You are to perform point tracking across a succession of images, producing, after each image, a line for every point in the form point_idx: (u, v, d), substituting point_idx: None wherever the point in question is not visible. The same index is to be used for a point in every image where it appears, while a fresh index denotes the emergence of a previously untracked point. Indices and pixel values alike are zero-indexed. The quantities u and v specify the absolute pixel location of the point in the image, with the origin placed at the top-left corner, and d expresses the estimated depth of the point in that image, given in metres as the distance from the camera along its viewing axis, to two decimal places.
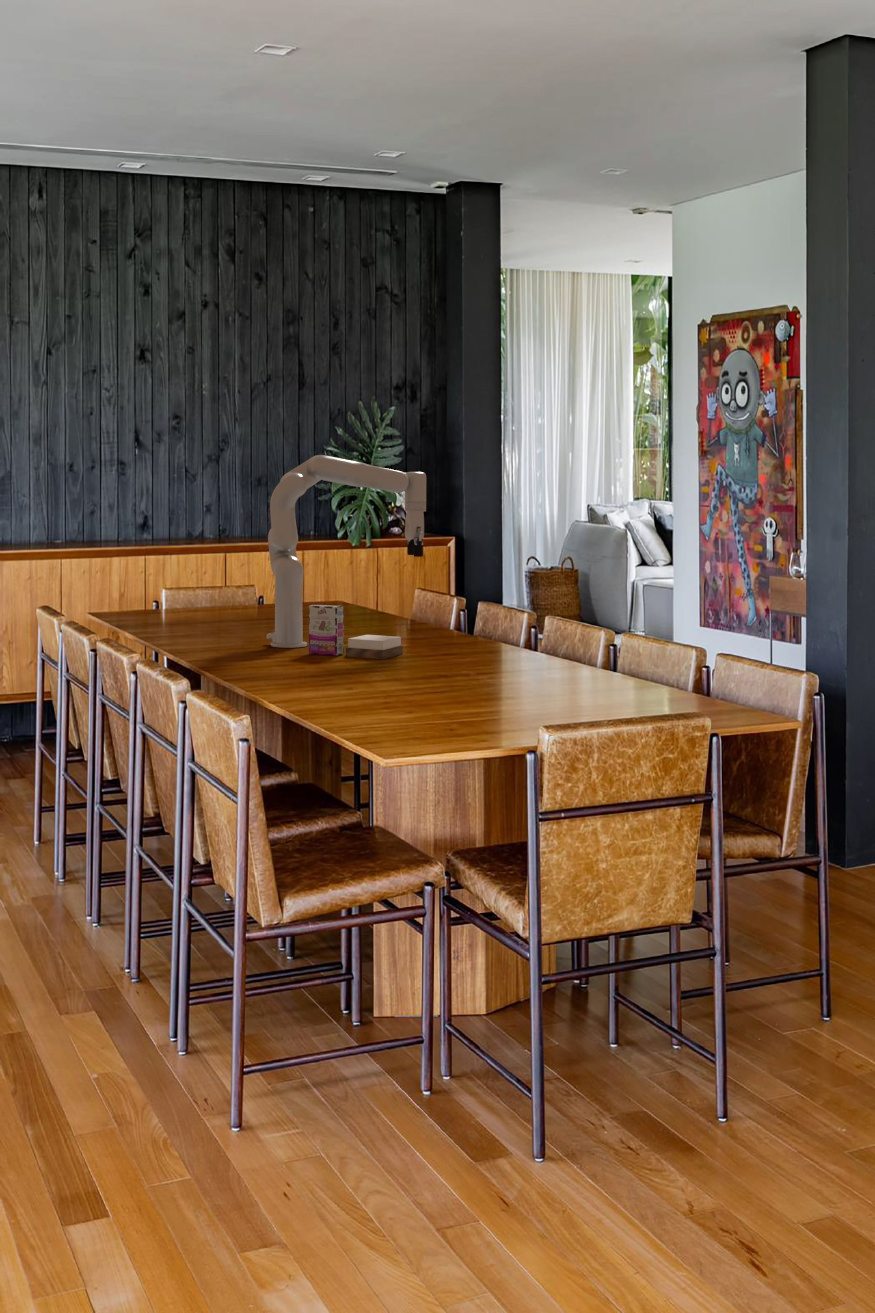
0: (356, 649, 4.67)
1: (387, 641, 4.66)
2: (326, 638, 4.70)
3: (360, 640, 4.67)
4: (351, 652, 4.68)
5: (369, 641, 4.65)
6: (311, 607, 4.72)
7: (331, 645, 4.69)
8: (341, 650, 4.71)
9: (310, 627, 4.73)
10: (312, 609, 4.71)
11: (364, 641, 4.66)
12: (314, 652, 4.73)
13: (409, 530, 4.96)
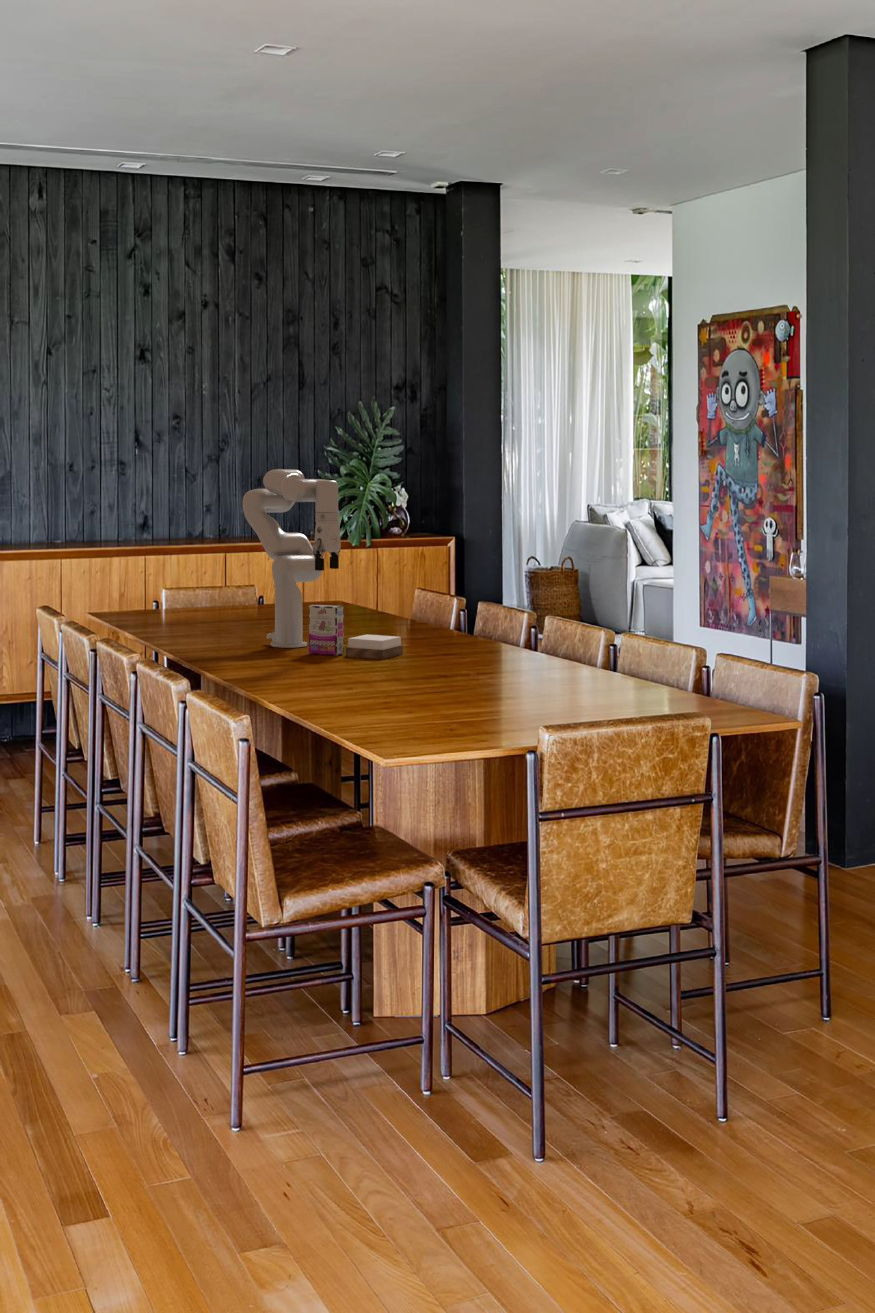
0: (356, 649, 4.67)
1: (386, 641, 4.66)
2: (326, 638, 4.70)
3: (360, 640, 4.67)
4: (351, 652, 4.68)
5: (369, 641, 4.65)
6: (311, 607, 4.72)
7: (331, 645, 4.69)
8: (341, 650, 4.71)
9: (310, 627, 4.73)
10: (312, 609, 4.71)
11: (364, 641, 4.66)
12: (314, 652, 4.73)
13: (338, 542, 4.70)
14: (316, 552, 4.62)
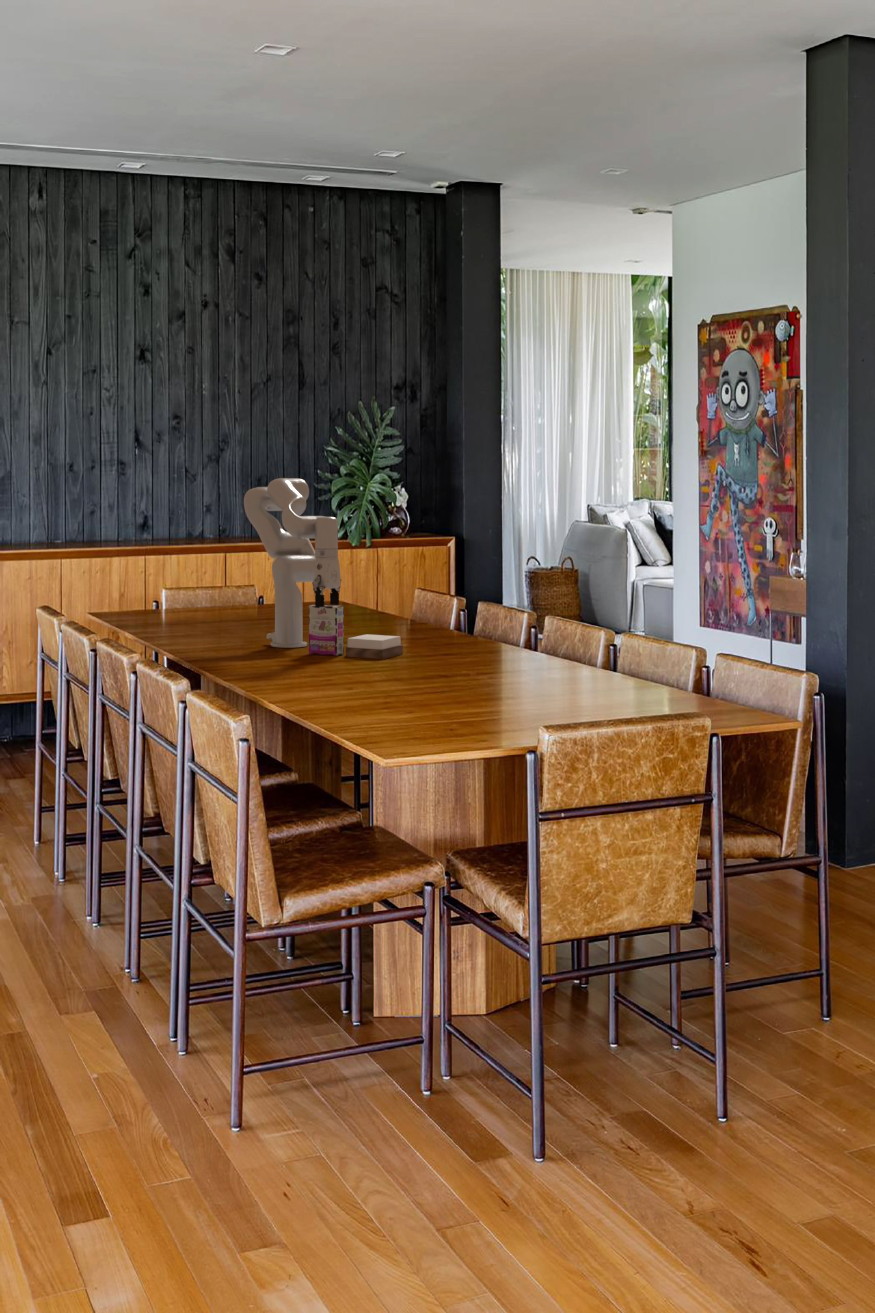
0: (356, 649, 4.67)
1: (386, 641, 4.66)
2: (326, 638, 4.70)
3: (359, 640, 4.67)
4: (351, 652, 4.68)
5: (368, 641, 4.65)
6: (311, 607, 4.72)
7: (331, 645, 4.69)
8: (341, 650, 4.71)
9: (310, 627, 4.73)
10: (312, 609, 4.71)
11: (363, 641, 4.66)
12: (314, 652, 4.73)
13: (338, 578, 4.71)
14: (316, 589, 4.63)
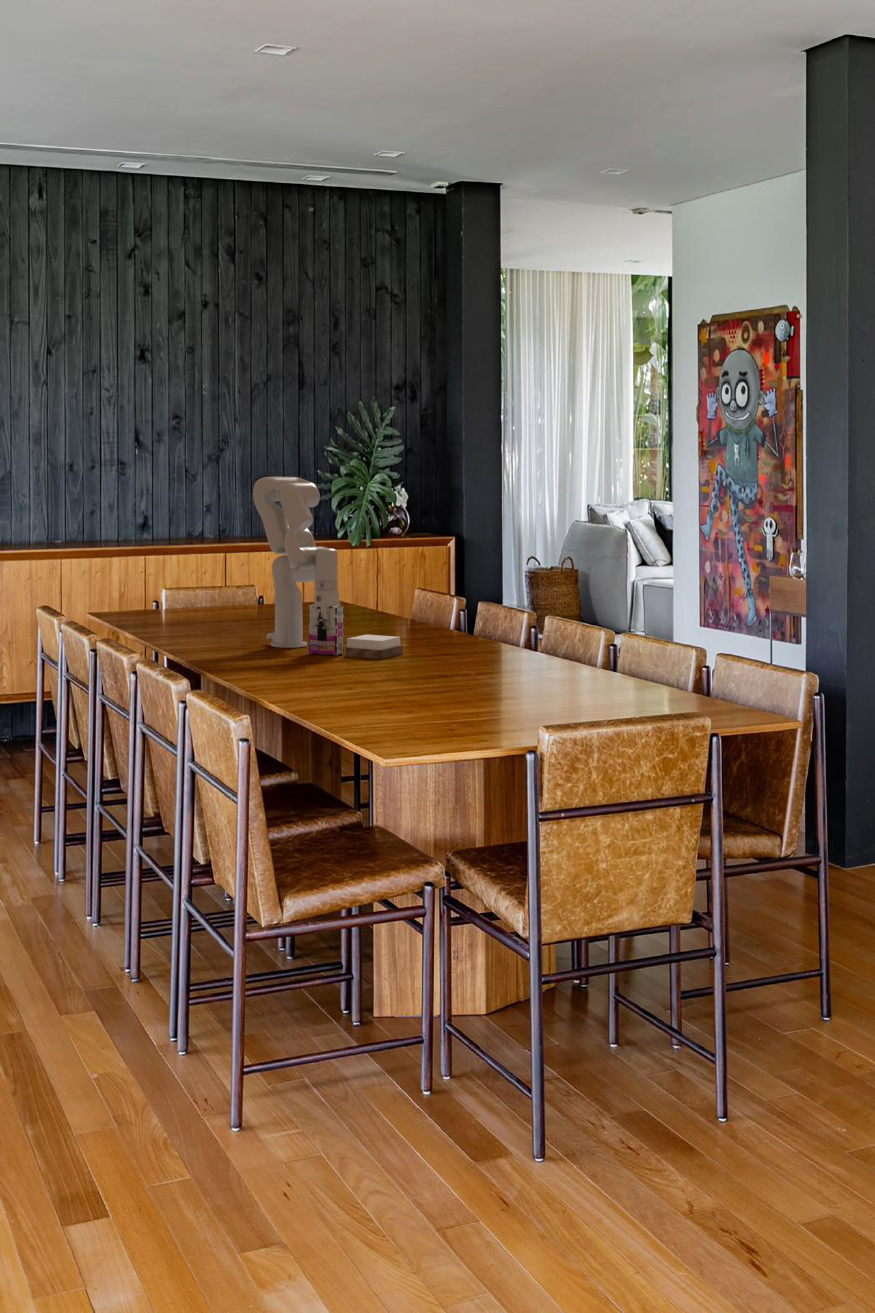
0: (356, 649, 4.67)
1: (385, 641, 4.66)
2: (326, 638, 4.70)
3: (359, 640, 4.67)
4: (351, 652, 4.68)
5: (368, 641, 4.65)
6: (311, 607, 4.72)
7: (331, 645, 4.69)
8: (341, 650, 4.71)
9: (310, 627, 4.73)
10: (312, 609, 4.71)
11: (363, 641, 4.66)
12: (314, 652, 4.73)
13: None
14: (318, 623, 4.67)
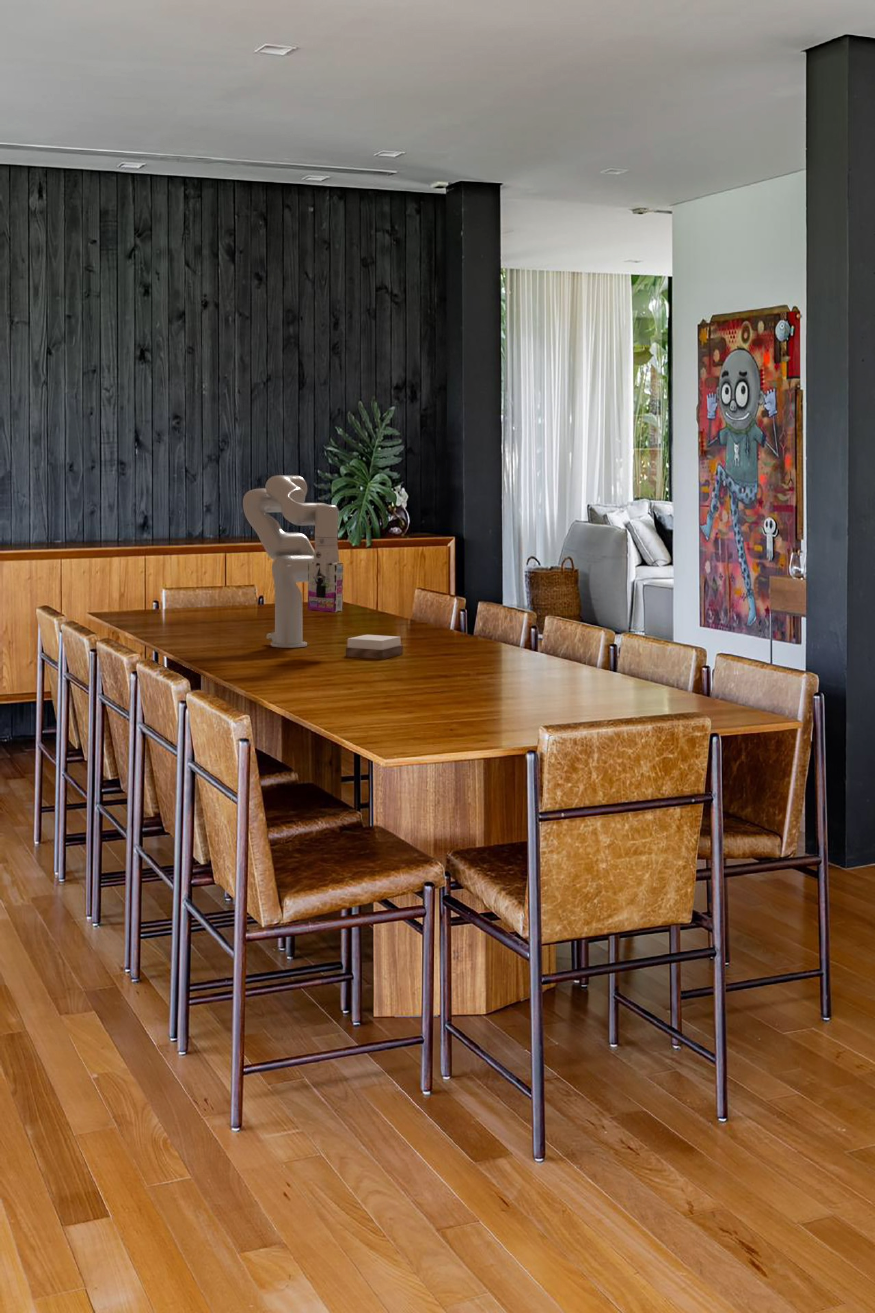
0: (356, 649, 4.67)
1: (386, 641, 4.66)
2: (325, 595, 4.69)
3: (359, 640, 4.67)
4: (351, 652, 4.68)
5: (368, 641, 4.65)
6: (310, 563, 4.70)
7: (330, 602, 4.68)
8: (340, 608, 4.70)
9: (309, 583, 4.71)
10: (312, 566, 4.70)
11: (363, 641, 4.66)
12: (313, 609, 4.72)
13: None
14: (318, 580, 4.65)
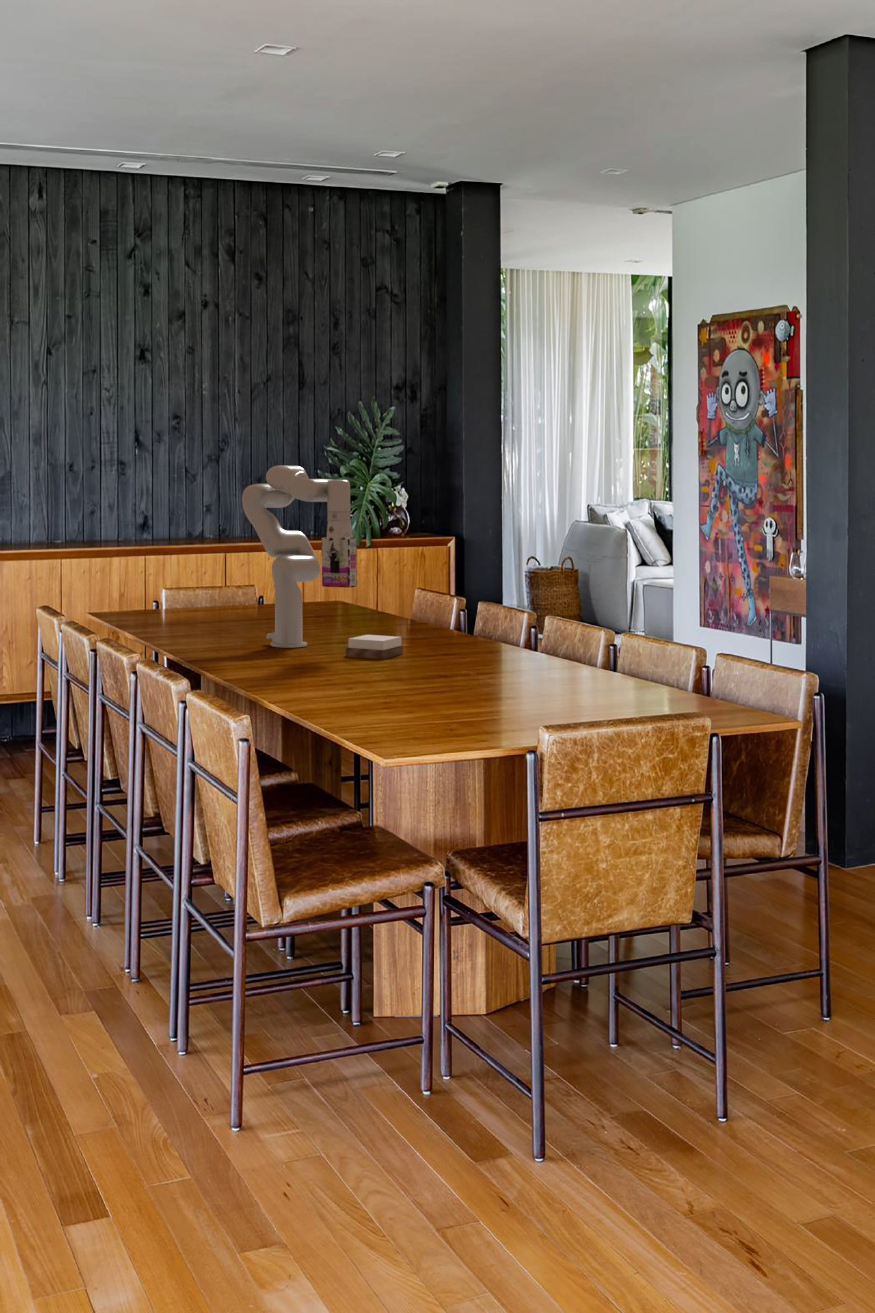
0: (356, 649, 4.67)
1: (387, 641, 4.66)
2: (339, 570, 4.66)
3: (360, 640, 4.67)
4: (351, 652, 4.68)
5: (369, 641, 4.65)
6: (324, 539, 4.68)
7: (344, 577, 4.66)
8: (354, 582, 4.67)
9: (323, 559, 4.69)
10: (325, 541, 4.68)
11: (364, 641, 4.66)
12: (327, 584, 4.69)
13: None
14: (331, 554, 4.64)
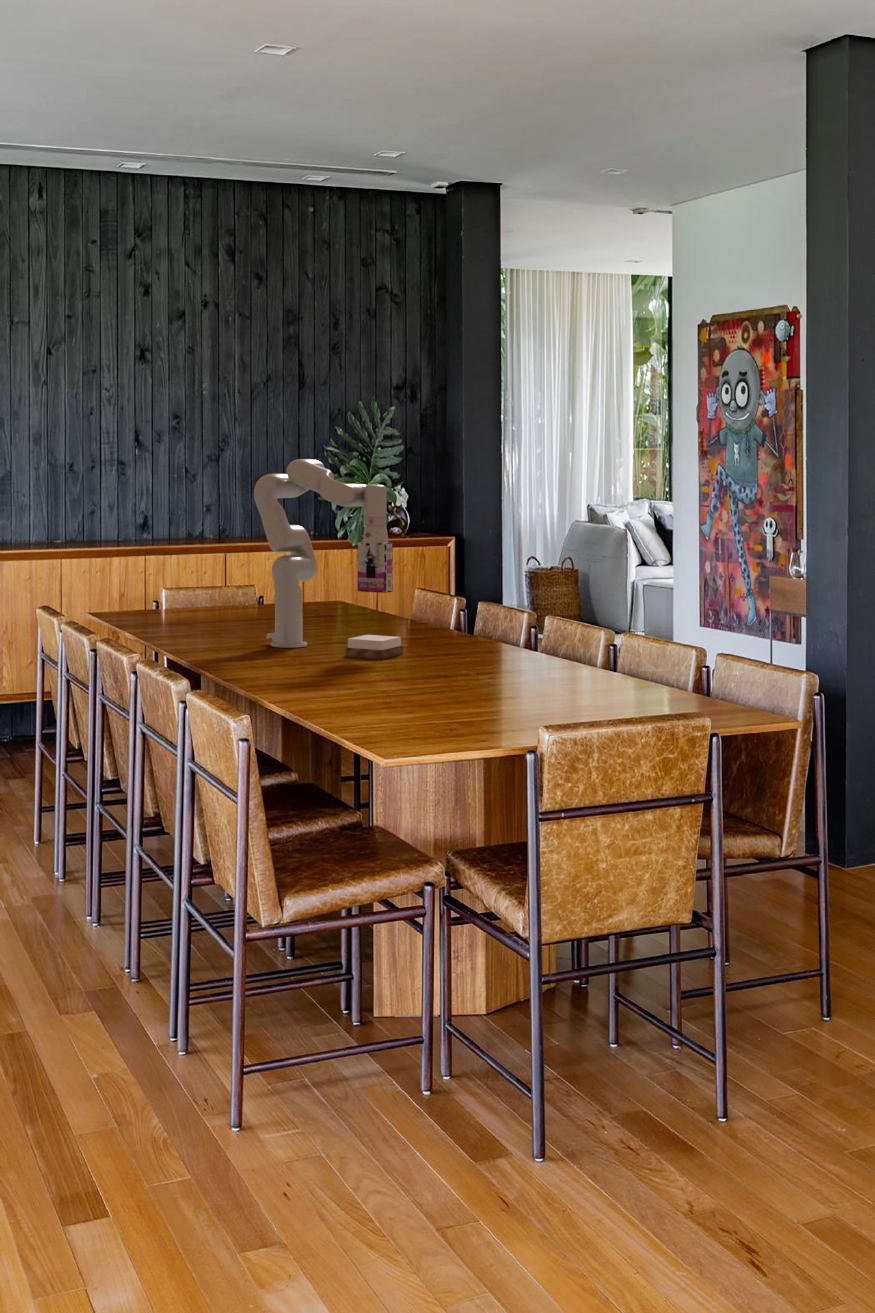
0: (356, 649, 4.67)
1: (386, 641, 4.65)
2: (375, 575, 4.66)
3: (360, 640, 4.66)
4: (351, 652, 4.68)
5: (368, 641, 4.65)
6: (360, 544, 4.68)
7: (381, 582, 4.65)
8: (390, 588, 4.67)
9: (359, 564, 4.69)
10: (361, 546, 4.67)
11: (363, 641, 4.66)
12: (362, 589, 4.69)
13: None
14: (368, 560, 4.63)
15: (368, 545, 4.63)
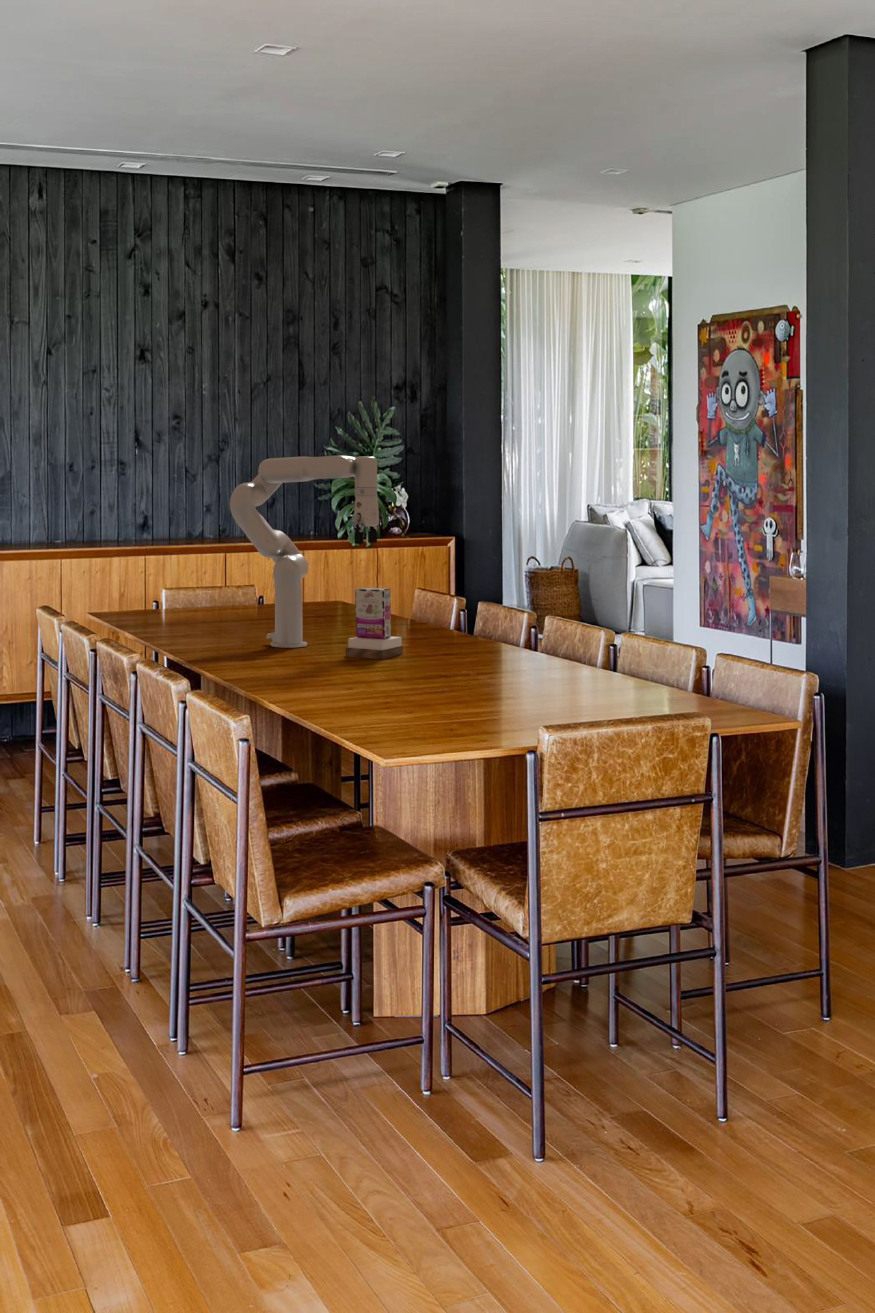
0: (356, 649, 4.67)
1: (386, 641, 4.65)
2: (374, 621, 4.68)
3: (360, 640, 4.67)
4: (351, 653, 4.68)
5: (369, 641, 4.65)
6: (357, 590, 4.69)
7: (379, 628, 4.67)
8: (388, 633, 4.69)
9: (357, 610, 4.70)
10: (359, 592, 4.69)
11: (364, 641, 4.66)
12: (361, 635, 4.71)
13: (376, 516, 4.85)
14: (356, 526, 4.77)
15: (359, 513, 4.79)
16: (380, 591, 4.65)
